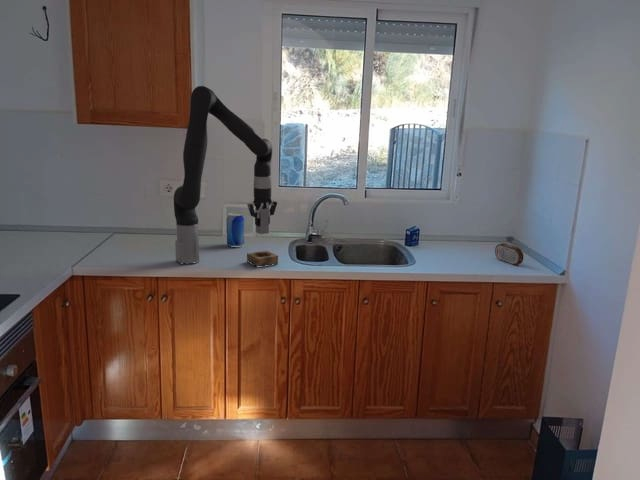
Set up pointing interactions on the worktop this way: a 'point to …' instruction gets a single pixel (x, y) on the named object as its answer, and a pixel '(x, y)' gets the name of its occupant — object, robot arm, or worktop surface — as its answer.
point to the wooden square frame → (262, 258)
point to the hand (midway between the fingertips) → (262, 225)
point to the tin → (509, 254)
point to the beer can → (235, 229)
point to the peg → (263, 221)
